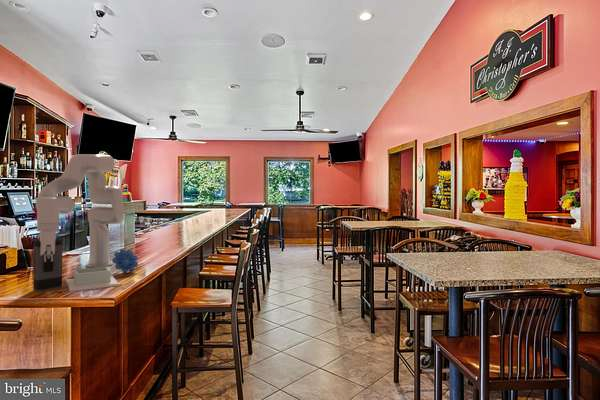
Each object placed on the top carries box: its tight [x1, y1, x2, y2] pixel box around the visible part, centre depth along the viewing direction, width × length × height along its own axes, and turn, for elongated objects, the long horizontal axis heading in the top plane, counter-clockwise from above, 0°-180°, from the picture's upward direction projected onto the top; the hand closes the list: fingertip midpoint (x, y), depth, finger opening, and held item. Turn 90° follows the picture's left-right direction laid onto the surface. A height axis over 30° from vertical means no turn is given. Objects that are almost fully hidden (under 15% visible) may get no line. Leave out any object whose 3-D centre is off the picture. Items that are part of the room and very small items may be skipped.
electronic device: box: [32, 238, 63, 293], centre depth 153 cm, size 9×6×20 cm, turn 145°
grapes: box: [111, 248, 139, 274], centre depth 184 cm, size 12×7×12 cm, turn 117°
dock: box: [65, 266, 120, 292], centre depth 163 cm, size 18×18×6 cm
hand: (48, 269), depth 153 cm, fingers open, 8 cm apart
